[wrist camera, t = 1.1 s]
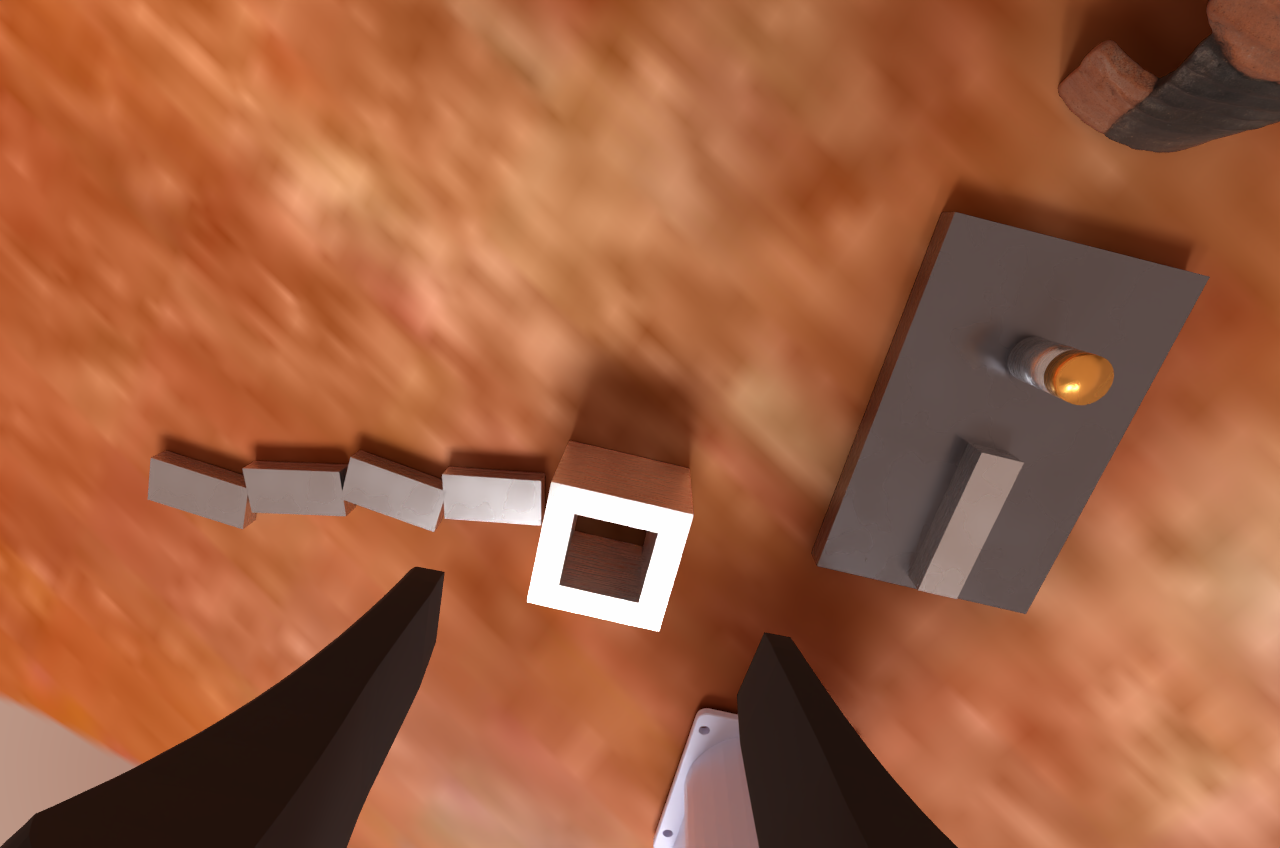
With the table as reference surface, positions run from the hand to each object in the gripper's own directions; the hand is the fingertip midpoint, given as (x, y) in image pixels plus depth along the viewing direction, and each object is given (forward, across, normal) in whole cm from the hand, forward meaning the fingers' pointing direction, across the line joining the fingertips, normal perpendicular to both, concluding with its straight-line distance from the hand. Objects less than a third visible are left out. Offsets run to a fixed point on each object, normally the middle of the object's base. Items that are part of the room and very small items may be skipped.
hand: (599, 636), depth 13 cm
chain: (+12, +10, +6) cm, 16 cm away
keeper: (+11, -14, -3) cm, 18 cm away
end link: (+11, -1, +4) cm, 12 cm away
